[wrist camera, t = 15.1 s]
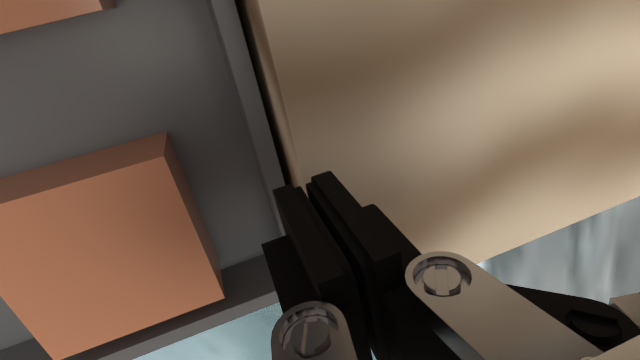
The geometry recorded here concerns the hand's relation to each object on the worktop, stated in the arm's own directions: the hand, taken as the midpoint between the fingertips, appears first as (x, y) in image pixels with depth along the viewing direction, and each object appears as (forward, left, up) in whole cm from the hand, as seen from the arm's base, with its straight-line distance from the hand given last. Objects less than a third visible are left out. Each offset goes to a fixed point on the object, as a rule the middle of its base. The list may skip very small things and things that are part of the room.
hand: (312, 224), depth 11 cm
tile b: (+1, -6, -3) cm, 7 cm away
